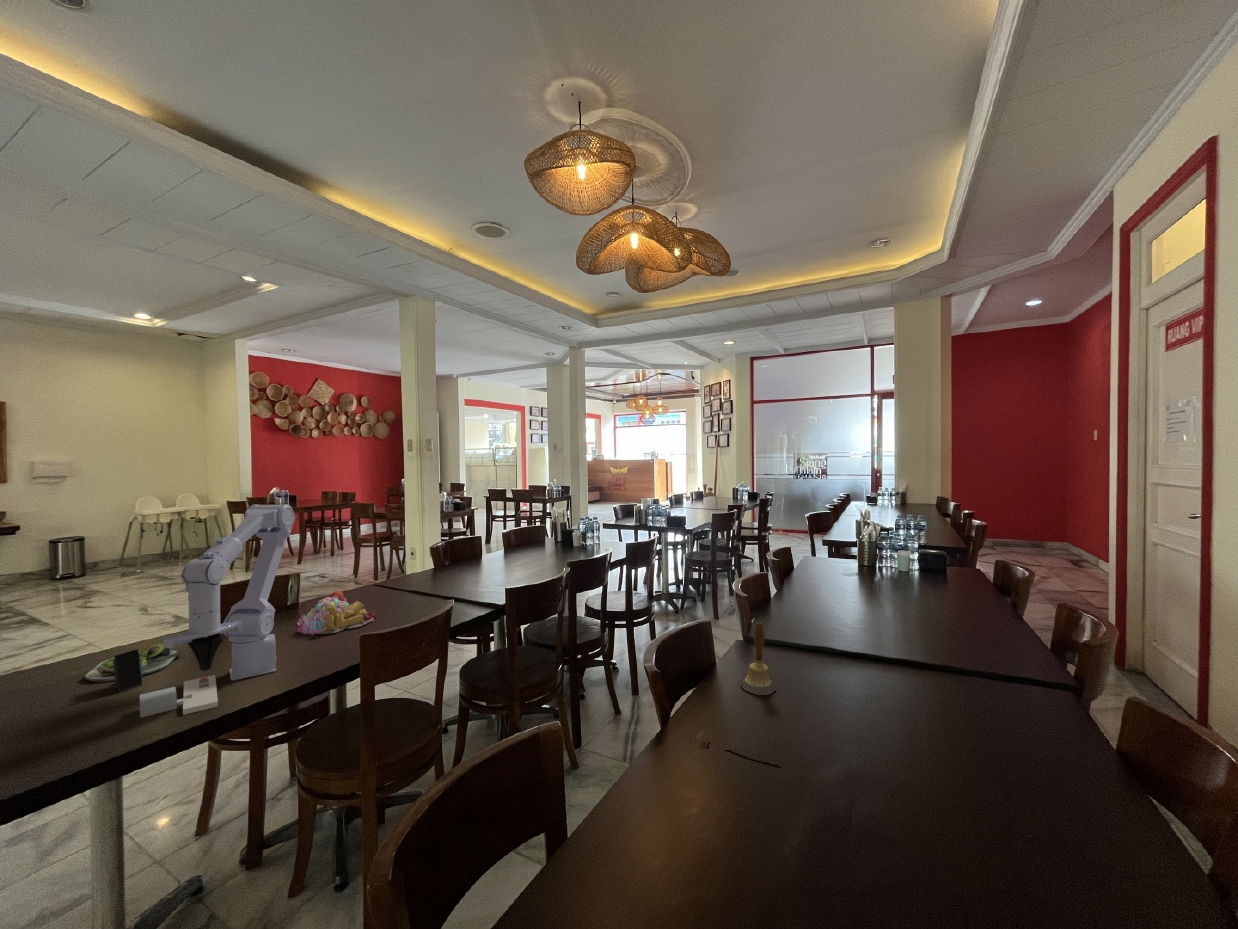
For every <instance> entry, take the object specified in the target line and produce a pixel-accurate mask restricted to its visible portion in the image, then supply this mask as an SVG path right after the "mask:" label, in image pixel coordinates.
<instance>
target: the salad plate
mask: <svg viewBox="0 0 1238 929" xmlns="http://www.w3.org/2000/svg"><path fill="white" fill-rule="evenodd" d="M184 653H186V650H180V651H177V650H174V649H173V650H171V649H170V648H165V647H164V642H160V643H159V642H156V643H153V644H151V645H150V646H148V647H146V648H145V649H144V650H143V651H141V652H140V662H141V664H142V676H145V675H149V674H152V673H155V672H157V671H158V672H159V671H160V670H163V669H164V668H166V667H167V666H168V665H169V664H170V663H172V662H173V661H174V660H175V659H176V658H178V657H180V656H181V655H182V654H184ZM113 659H115V658H114V656H113V657H111V658H108V659H105V660H104V661H102V662H100V663H98V664H97V665H96V666H95V667H93V668H92V669H91V670H89V671H88V672H86V674H85V675H84V678H85V679H86V680H88V681H91V682H95V683H106V682H107V683H108V681H109V682H115V678H114V675H113V676H105V677H102V676H101V675H102V674H101V672H103V671H104V672H106V673H114V668H113ZM104 672H103V673H104ZM99 675H100V676H101V677H100V676H99Z"/></svg>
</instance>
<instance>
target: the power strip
mask: <svg viewBox="0 0 1238 929" xmlns="http://www.w3.org/2000/svg"><path fill="white" fill-rule="evenodd" d="M217 690H218V688H217V681H216V674H214V675H209V676H205V675H204V676H201V677H199V678H195V679H190V680H185V681H183V698H187V699H184V700H183V704H182V716H184V715H189V714H192V713H196V712H197V713H198V712H202V711H205V710H209V709H213V708H217V707H218V706H219V698H218V691H217ZM183 698H182V699H183Z"/></svg>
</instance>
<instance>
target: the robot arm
mask: <svg viewBox="0 0 1238 929" xmlns="http://www.w3.org/2000/svg"><path fill="white" fill-rule="evenodd" d="M295 520H296V515H295V513H294V510H293V507H292V506H291V505H290V504H286V503H285V504H258V503H257V504H256V503H255V504H252V505H250V506H249V507H248V509H247V510H246V511H245V512H244V519H242V522H241V523H239V524H238V526H237V527H236V528H235V529H234V531H233V532H232V533H231V534H230V535H229V536H223V537H219V538H217V539H216V540H215V543H214V544H212V545H211V546H210V548H208V549H207V550H206V551H205V552H204V553H203V554H202V555H200V556H199V558H195V559H191V560H190V561H188V562H187V563H186V564H185V565H184V567H183V569H182V572H181V573H180V578H181V581H182V582H183V583H184V584H185V591H186V592H187V593H188V630H186V631H184V632H180V633H178V634H175V635H172V636H168V637H164V638H163V643H164V647H165V648H169V649H171V648H174V647H177V646H179V645H183V644H187V645H188V646H189V648H190V649H191V651H192V652H193V654H194V656H195V659H196V661H197V662H198V663H197V664H198V667H199V670H200V671H202V672H206V671H208V670H211V668H212V665H213V661H214V659H215V658H214V657H215V655H216V653H217V651H218V648H219V647H220V645H221V644H222V643H223V637H222V635H224V636H225V637H227V638H228V642H231V668H230V669H229V676H230V681H232V682H233V681H238V680H242V679H247V678H251V677H257V676H260V675H261V676H262V675H266V674H268V673H269V674H270V673H274V672H276V671H277V647H276V645H277V644H276V636H275V633H271V632H272V630H273V628H274V624H275V618H274V617H275V613H276V609H275V607H274V606H273V605H272V604H271V603H270V602H269V601H268V600H269V597H270V593H271V592H272V591H271V590H272V588H273V584H274V582H275V578H276V575H277V571H278V569H279V565H280V561H281V558H282V555H283V553H284V549H285V546H286V543H287V539H288V537H290V535H291V532H292V529H293V526H294V523H295ZM253 536H256V537H258V538H259V539H261V540H262V543H261V545H260V546H261V547H260V549H259V552H258V555H257V558H256V561H255V565H254V567H253V569H252V570H253V571H252V573H251V576H250V579H249V583H248V586H247V588H246V591H245V594H244V597H243V598H242V599H241V600H239V601H238V602H237V603H235V604H233V605H232V606H231V607H230V611H229V613H228V614H227V616H226V617H225V618H224V620H223V622H222V623H221V582H223V581H224V580H225V578H226V576H227V572H228V570H229V568H230V565H231V564H232V563H233V562H234V561H235V559H237V558H238V557H239V556H240V554H242V552H243V545H244V544H245V543H246V542H247V541H248V540H250V539H251V538H252V537H253Z"/></svg>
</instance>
